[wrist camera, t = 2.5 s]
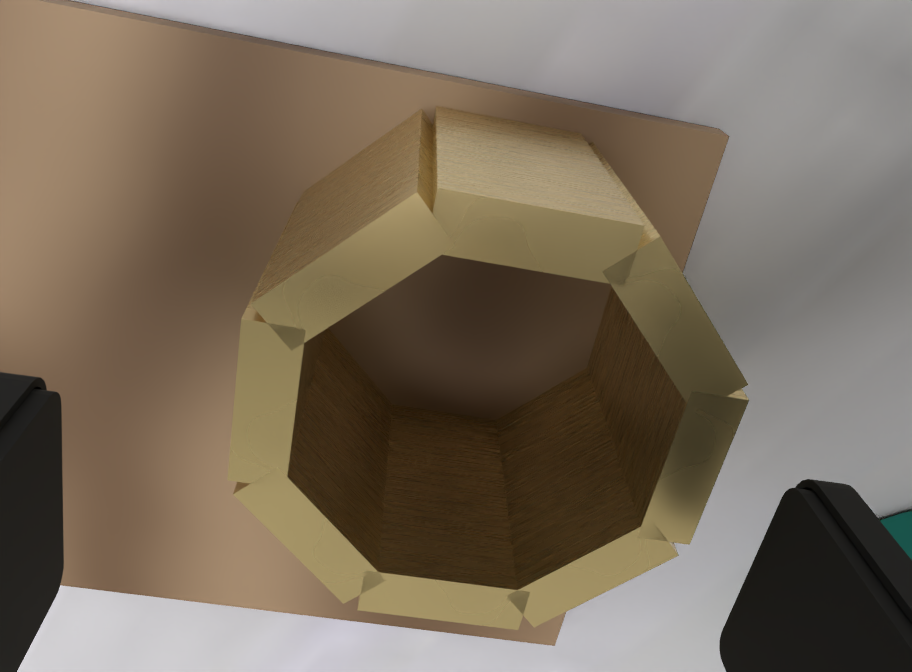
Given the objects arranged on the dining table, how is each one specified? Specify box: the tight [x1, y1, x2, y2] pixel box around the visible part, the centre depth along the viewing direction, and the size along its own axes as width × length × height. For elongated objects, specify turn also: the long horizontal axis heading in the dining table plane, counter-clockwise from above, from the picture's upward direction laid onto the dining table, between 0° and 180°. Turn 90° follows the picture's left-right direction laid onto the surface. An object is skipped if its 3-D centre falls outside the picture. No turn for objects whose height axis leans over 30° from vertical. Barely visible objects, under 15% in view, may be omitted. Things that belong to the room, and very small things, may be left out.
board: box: [0, 0, 729, 646], centre depth 17 cm, size 20×13×1 cm, turn 79°
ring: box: [227, 106, 749, 630], centre depth 14 cm, size 7×7×5 cm
